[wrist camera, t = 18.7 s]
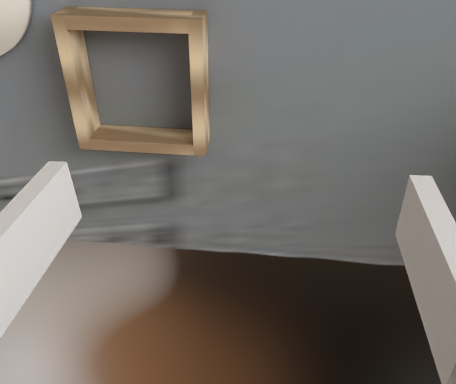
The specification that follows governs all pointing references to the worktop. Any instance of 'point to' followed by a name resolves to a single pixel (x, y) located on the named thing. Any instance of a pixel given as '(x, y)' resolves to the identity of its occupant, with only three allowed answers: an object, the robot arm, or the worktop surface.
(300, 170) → the worktop surface
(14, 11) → the disc
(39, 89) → the worktop surface
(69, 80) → the holder
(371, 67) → the worktop surface
